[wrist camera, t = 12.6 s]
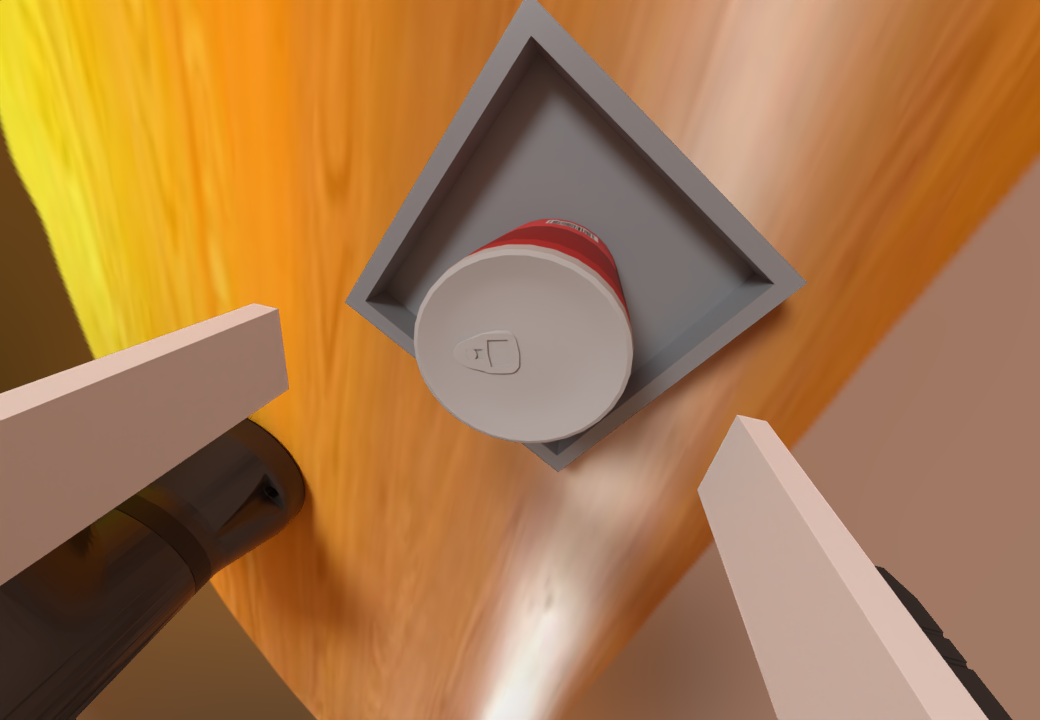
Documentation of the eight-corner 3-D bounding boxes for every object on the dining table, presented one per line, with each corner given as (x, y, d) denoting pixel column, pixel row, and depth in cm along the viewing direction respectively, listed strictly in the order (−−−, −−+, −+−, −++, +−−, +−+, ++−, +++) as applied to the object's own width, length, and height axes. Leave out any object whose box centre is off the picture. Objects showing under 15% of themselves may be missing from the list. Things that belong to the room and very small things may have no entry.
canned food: (468, 246, 23) (373, 294, 13) (595, 193, 20) (595, 204, 11) (515, 354, 25) (465, 462, 16) (633, 319, 23) (660, 422, 13)
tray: (374, 287, 26) (344, 301, 23) (539, 24, 18) (528, -8, 15) (562, 441, 29) (558, 472, 26) (776, 267, 21) (807, 282, 18)
